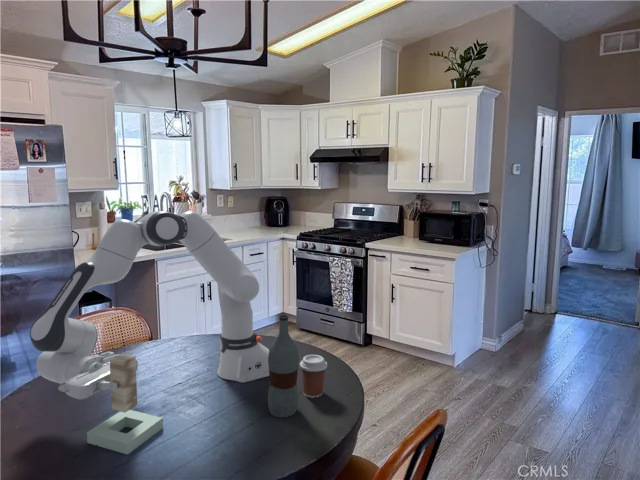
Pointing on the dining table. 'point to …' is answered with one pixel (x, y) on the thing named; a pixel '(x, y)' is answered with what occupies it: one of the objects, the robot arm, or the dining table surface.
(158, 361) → the dining table surface
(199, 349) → the dining table surface
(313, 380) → the coffee cup
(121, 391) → the peg
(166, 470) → the dining table surface
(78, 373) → the robot arm
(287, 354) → the bottle
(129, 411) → the socket plate
